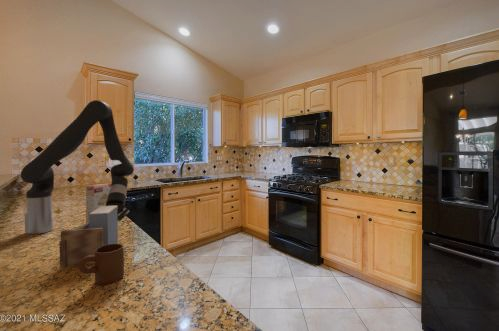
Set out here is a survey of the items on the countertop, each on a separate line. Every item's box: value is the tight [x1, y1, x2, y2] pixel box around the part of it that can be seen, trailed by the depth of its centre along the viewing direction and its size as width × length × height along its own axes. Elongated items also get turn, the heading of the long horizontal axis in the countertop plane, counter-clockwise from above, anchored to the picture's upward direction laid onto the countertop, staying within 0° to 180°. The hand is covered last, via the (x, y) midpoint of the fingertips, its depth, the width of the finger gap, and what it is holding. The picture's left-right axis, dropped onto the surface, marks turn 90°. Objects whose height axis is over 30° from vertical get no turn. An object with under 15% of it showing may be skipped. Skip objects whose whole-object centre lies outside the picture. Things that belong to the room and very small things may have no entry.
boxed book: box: [89, 205, 119, 246], centre depth 92 cm, size 6×14×16 cm, turn 17°
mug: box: [77, 243, 125, 285], centre depth 69 cm, size 12×8×9 cm, turn 149°
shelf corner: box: [58, 221, 103, 269], centre depth 93 cm, size 12×32×12 cm, turn 16°
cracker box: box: [85, 182, 112, 223], centre depth 133 cm, size 14×6×21 cm, turn 168°
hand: (110, 229), depth 100 cm, fingers closed
